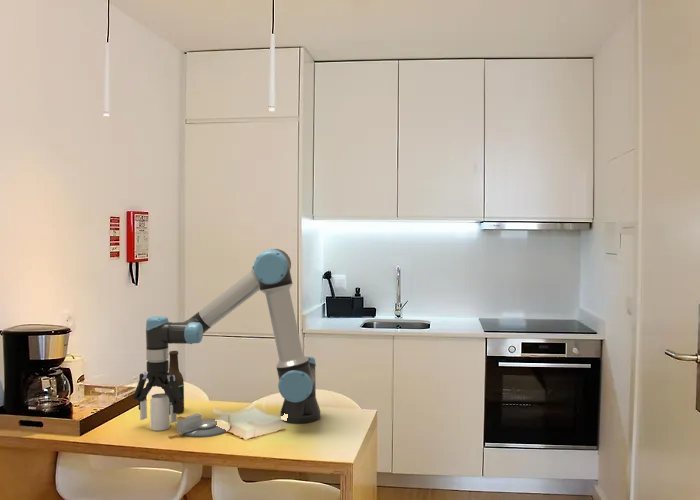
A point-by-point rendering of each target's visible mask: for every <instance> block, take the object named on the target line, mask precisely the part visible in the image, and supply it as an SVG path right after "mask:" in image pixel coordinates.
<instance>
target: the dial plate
mask: <svg viewBox="0 0 700 500" xmlns="http://www.w3.org/2000/svg"><path fill="white" fill-rule="evenodd" d="M206 419H207V418H204V419H202V420H206ZM209 419H210V420H215V419H216V418H209ZM225 432H226V430H225V429H222V428H220V427H218V426H215V427H213V428H209V429H197V430H193V431H190V432H187V433H183V434H181V436H184V437H187V438H210V437H211V438H212V437H216V436H220V435H224V434H226V433H227V432H226V433H225Z"/></svg>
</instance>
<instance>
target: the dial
mask: <svg viewBox="0 0 700 500" xmlns="http://www.w3.org/2000/svg"><path fill="white" fill-rule="evenodd" d="M202 416H203V415H202V414H201V413H193V414H190V415H187V416H177V421H176V434H181V435H182V434H183V433H187V432H190V431H193V430H197V429H209V428H213V427H215V426H216V425H217V421H215V420H210V419H211V418H205V419H206V420H202Z"/></svg>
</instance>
